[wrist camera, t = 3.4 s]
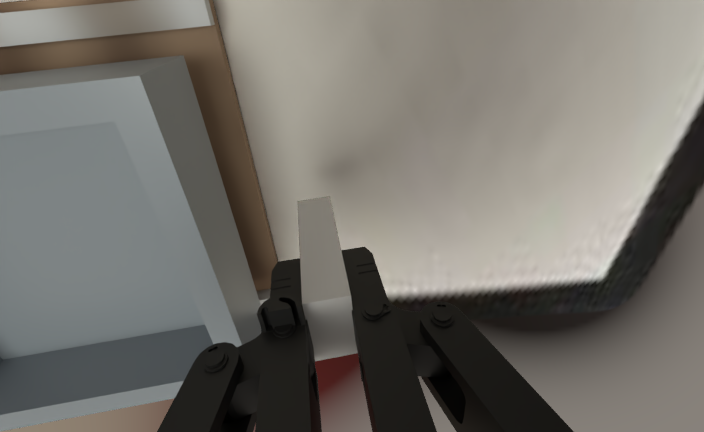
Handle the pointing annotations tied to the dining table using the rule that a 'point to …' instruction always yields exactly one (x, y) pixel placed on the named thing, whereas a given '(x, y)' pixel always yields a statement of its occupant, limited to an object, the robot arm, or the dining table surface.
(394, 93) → the dining table surface
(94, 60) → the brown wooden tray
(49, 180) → the grey open tray
